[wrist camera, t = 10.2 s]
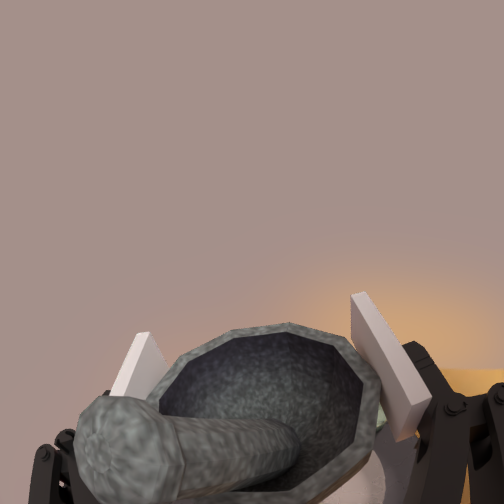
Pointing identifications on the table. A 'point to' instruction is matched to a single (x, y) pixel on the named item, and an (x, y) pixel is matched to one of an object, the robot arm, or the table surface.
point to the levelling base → (376, 471)
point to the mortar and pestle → (237, 424)
